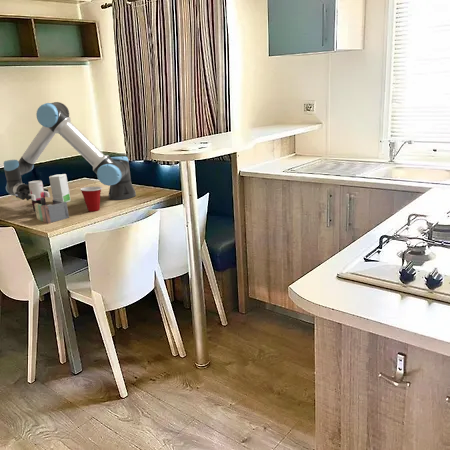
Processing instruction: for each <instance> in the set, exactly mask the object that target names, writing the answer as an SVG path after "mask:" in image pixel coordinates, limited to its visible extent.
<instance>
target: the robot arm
mask: <svg viewBox="0 0 450 450" xmlns="http://www.w3.org/2000/svg"><path fill="white" fill-rule="evenodd" d="M35 115H36V119H37V121H38V123H39V125H41V126H42V127H41V128H40V129H39V130H38V132H37V134H36V135H35V136H34V138H33V140H32V141H31V143H30V144H29V145H28V147H27V148H26V149H25V150H24V153H23V154H22V156H21V157H20V158H19V160H18V159H8V160H5V161H3V169H4V174H5V178H6V184H5V185H6V186H5V190H6V192H7V193H8V194H10V195H11V196H15V198H17V199H20V200H23V201H24V200H26V201H29V200H31V201H32V200H34V201H36V197H35V195H33V194H30V189H29V184H27V183H26V184H25V183H23V181H22V176H23V175H25V174H28V173H30V172H32V170H33V169H34V166H35V163H36V162H37V160H38V159H39V157H41V155H42V154H43V152H44V150H46V148H47V146H48V145H49V143H50V142H51V141H52V139H53V138H54V136H56V134H58V135H60V137H62V138H63V139H64V140H65V141H66V142H67V143H68V144H69V145H70V146H71V147H72V148H73V149H74V150H75V151H76V152H77V153H79V155H81V157H83V158H84V160H86V161H87V162H88V163H89V164H90V165H91V167H92V171H93V172H94V173H95V174H96V177H97V179H98V181H99V182H100V183H101V184H103V185H105V186H108V187H109V191H108V199H109V200H114V201H116V200H127V199H130V198H134V197H135V196H136V195H137V194H136V193H137V192H136V190H135V188H134V186H133V185H134V184H132V179H131V178H132V177H131V171H130V164H129V163H130V162H129V158H128V156H123V155H122V156H110V155H108V154H106V155H105V154H104V153H103V152H102V151H101V150H100V149H99V148H98V147H97V146H96V145H95V144H94V143H93V142H92V141H91V140H90V139H89V138H87V137H86V135H84V133H82V131H80V130H79V129H78V128H77V127H76V126H75V125H74V124H73V122H71V121H72V120H71V117H70V111H69V107H67V106H66V104H64V103H62V102H59V101H55V102H45V103H44V104H41V105H39V107H38V108H37V110H36V114H35ZM43 189H44V195H45V198H51V195H50V191H49V189H46V188H43Z"/></svg>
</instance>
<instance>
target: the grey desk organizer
mask: <svg viewBox="0 0 450 450" xmlns="http://www.w3.org/2000/svg"><path fill="white" fill-rule="evenodd" d="M67 203H68V202H64V201H60V200H57V199H53V198H52V204H51V205H50V206H44V205H41V204H38V203H36V204H34V206H35V211H36V212H35V211H34V212H35V213H36V214H35V215H36V220H37V221H40V222H43V223H46V224H51V223H55V222H58V221H62V220H66V219H69V218H70V216H69V209H68V204H67Z"/></svg>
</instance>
